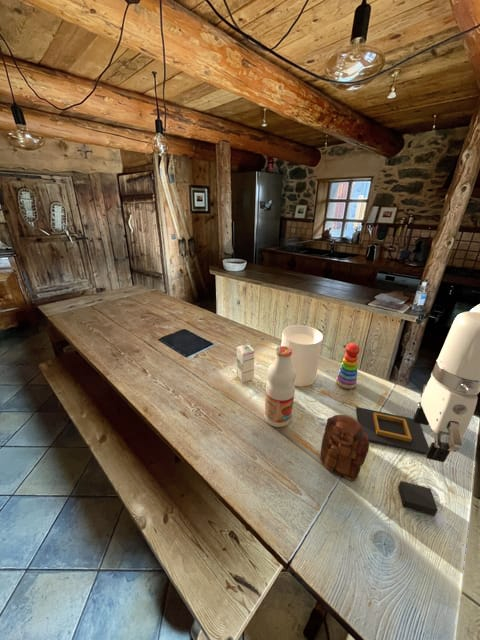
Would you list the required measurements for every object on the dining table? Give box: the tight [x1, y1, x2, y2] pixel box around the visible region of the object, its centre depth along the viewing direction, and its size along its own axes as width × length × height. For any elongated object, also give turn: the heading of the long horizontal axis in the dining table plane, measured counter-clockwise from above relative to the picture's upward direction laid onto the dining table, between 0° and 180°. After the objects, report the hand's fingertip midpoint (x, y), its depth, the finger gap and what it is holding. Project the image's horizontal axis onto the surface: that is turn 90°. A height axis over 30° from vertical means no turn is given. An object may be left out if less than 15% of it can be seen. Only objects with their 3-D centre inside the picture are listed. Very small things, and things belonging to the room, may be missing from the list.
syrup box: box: [236, 343, 256, 383], centre depth 110 cm, size 6×6×14 cm
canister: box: [280, 324, 324, 387], centre depth 111 cm, size 16×16×20 cm
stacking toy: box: [335, 342, 361, 390], centre depth 106 cm, size 8×8×19 cm
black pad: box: [397, 480, 439, 517], centre depth 68 cm, size 7×6×3 cm
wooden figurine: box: [319, 414, 370, 482], centre depth 73 cm, size 12×6×18 cm, turn 56°
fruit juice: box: [263, 345, 296, 428], centre depth 87 cm, size 9×9×28 cm
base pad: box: [356, 406, 430, 456], centre depth 88 cm, size 20×14×2 cm
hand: (426, 439), depth 58 cm, fingers open, 9 cm apart
